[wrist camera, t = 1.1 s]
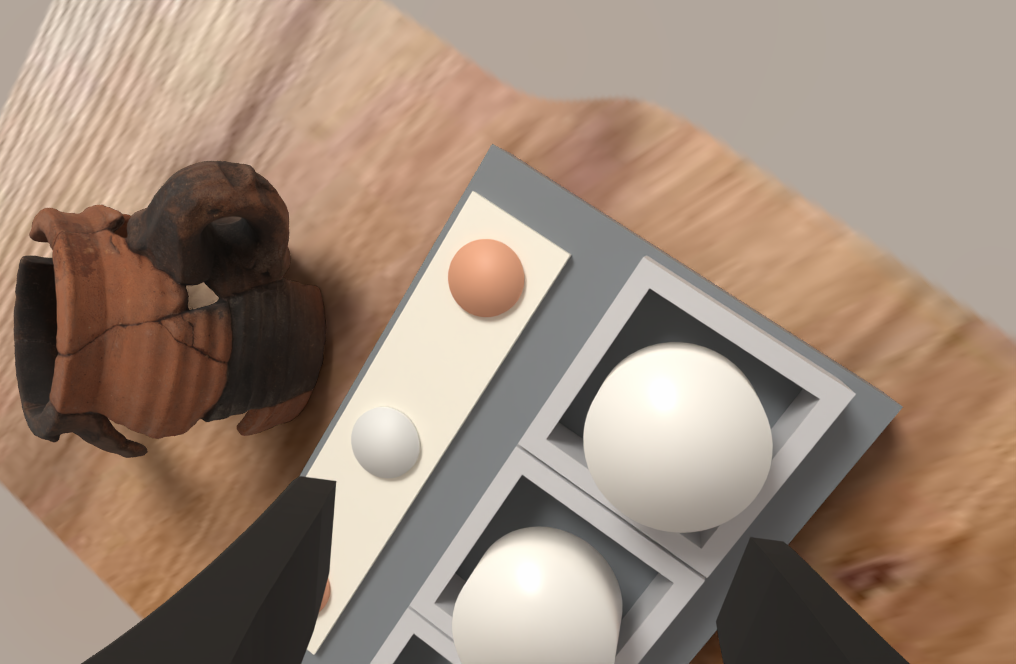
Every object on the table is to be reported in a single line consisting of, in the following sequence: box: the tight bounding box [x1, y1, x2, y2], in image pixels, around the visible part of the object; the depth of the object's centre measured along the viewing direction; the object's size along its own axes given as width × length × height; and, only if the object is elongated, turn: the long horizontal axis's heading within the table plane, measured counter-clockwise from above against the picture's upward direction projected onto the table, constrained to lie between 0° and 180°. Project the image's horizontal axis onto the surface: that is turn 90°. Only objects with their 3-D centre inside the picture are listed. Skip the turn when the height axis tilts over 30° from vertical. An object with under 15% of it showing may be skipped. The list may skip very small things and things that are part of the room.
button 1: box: [583, 342, 773, 533], centre depth 17 cm, size 4×4×2 cm
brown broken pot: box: [14, 161, 326, 458], centre depth 24 cm, size 12×10×8 cm
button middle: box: [452, 527, 622, 664], centre depth 19 cm, size 4×4×2 cm
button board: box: [300, 144, 902, 664], centre depth 22 cm, size 14×20×4 cm
